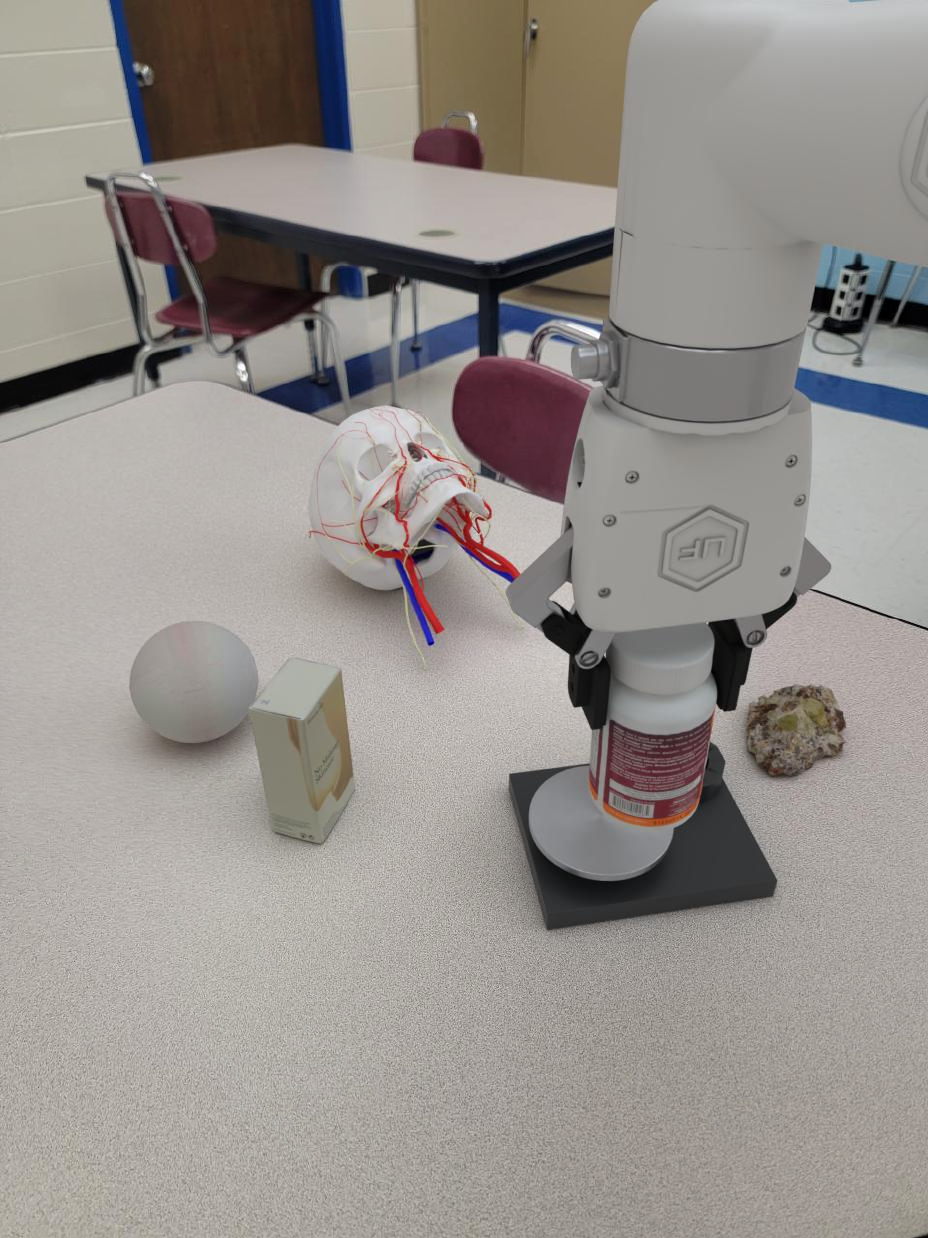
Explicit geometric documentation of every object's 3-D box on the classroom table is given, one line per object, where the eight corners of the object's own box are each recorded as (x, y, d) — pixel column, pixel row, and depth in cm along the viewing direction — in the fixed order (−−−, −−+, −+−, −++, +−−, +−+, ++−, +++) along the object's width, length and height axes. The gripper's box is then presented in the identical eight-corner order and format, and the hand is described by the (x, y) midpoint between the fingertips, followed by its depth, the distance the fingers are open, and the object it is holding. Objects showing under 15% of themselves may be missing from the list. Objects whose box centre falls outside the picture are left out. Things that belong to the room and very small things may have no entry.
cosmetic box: (322, 847, 66) (302, 723, 59) (270, 833, 67) (243, 710, 60) (358, 785, 71) (343, 664, 64) (309, 773, 72) (289, 653, 65)
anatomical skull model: (416, 560, 70) (276, 398, 84) (404, 710, 83) (285, 550, 97) (577, 501, 77) (424, 361, 91) (543, 648, 91) (414, 507, 104)
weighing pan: (646, 763, 68) (646, 757, 67) (694, 869, 60) (695, 864, 59) (515, 780, 67) (515, 774, 66) (546, 891, 59) (547, 885, 58)
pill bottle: (721, 812, 50) (754, 649, 43) (627, 853, 47) (646, 689, 41) (655, 742, 54) (676, 585, 47) (567, 776, 52) (575, 618, 45)
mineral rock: (766, 663, 79) (861, 676, 74) (771, 703, 81) (864, 719, 76) (714, 735, 72) (816, 756, 67) (721, 778, 74) (820, 801, 69)
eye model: (138, 706, 79) (110, 613, 73) (253, 677, 82) (235, 586, 76) (151, 783, 72) (121, 686, 66) (277, 748, 75) (259, 653, 69)
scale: (701, 759, 73) (707, 727, 71) (773, 896, 62) (783, 863, 60) (507, 784, 71) (507, 752, 69) (546, 930, 60) (548, 897, 58)
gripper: (508, 420, 32) (505, 778, 43) (953, 379, 34) (846, 729, 45) (470, 349, 38) (476, 678, 49) (851, 318, 40) (778, 639, 51)
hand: (654, 700), depth 47 cm, fingers closed on pill bottle, 6 cm apart
